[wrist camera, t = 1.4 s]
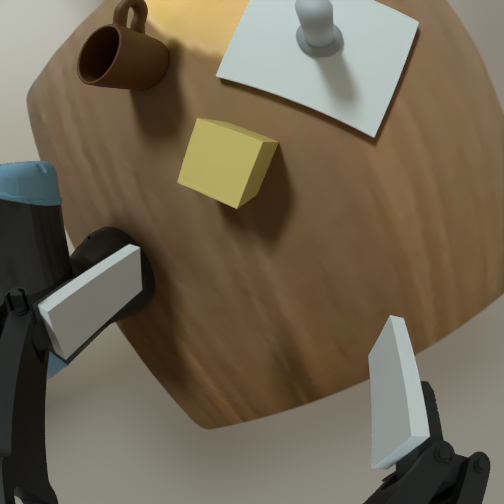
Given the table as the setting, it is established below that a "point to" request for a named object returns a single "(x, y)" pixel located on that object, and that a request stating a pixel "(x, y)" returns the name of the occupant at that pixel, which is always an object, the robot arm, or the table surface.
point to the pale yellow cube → (226, 161)
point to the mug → (123, 52)
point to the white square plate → (323, 55)
